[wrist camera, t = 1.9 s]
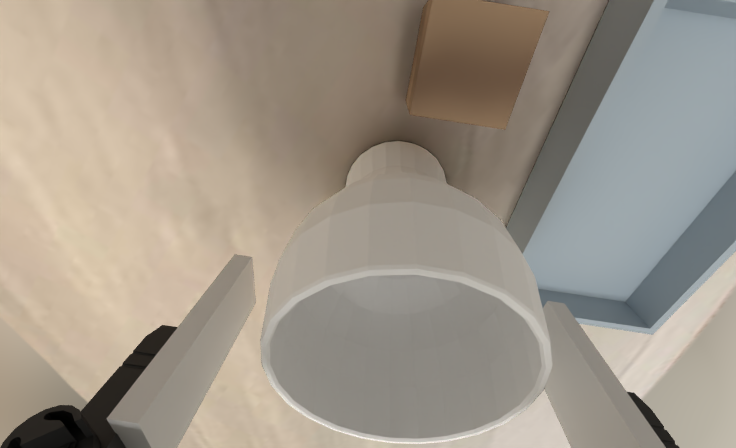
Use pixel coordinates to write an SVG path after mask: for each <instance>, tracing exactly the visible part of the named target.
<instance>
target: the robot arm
mask: <svg viewBox="0 0 736 448" xmlns="http://www.w3.org/2000/svg"><path fill="white" fill-rule="evenodd" d="M255 303H256V296H255V284H254V273H253V261H252V257H249V256H242V255H234V256H233V257H232V259H231V260H230V261H229V262H228V264H227V265H226V266H225V267H224V269H223V270H222V271H221V273H220V274H219V275H218V276H217V278H216V279H215V280H214V282H213V283H212V284H211V285H210V287H209V288H208V289H207V291H206V292H205V293H204V294H203V296H202V297H201V298H200V300H199V301H198V302H197V303H196V305H195V306H194V307H193V308H192V310H191V311H190V312H189V314H188V315H187V316H186V317H185V319H184V320H183V321H182V323H181V324H180V325H179V326H178V327H172V326H165V325H162V326H160V327H159V328H158V329H156V330H155V331H153V332H152V333H150V334H149V335H147V336H146V337H145V338H144V339H143V340H142V342H141V343H140V344H139V345H138V346H137V347H136V349H135V350H134V351H133V354H130V355H129V357H128V358H127V359H126V360H125V361H124V362H123V365H122V366H120V367H119V368H118V369H117V370H116V372H115V373H114V374H113V375H112V376H111V377H110V378H109V380H108V381H107V382H106V383H105V384H104V385H103V387H102V388H101V389H100V390H99V391H98V392H97V393H96V395H95V396H94V397H93V398H92V399H91V400H90V401H89V403H88V404H87V405H86V406H85V407H84V409H83V410H82V411H81V412H80V410H79V409H77V408H75V407H73V406H69V405H59V406H56V407H52V408H49V409H45V410H43V411H42V412H40V413H38V414H36V415H34V416H32V417H30V418H29V419H27V420H26V421H25V422H23V423H22V424H21V425H19V426H18V427H17V428H16V429H14V431H13V432H12V433H11V434H10V435H9V436H8V437H7V439H6V440H5V441H4V442H3V444H2V446H1V448H177V447H178V445H179V443H180V441H181V439H182V438H183V436H184V434H185V432H186V430H187V428H188V427H189V425H190V423H191V421H192V419H193V417H194V415H195V414H196V412H197V410H198V408H199V406H200V404H201V403H202V401H203V399H204V397H205V395H206V393H207V392H208V390H209V388H210V386H211V384H212V382H213V381H214V379H215V377H216V375H217V373H218V371H219V369H220V368H221V366H222V364H223V362H224V360H225V358H226V357H227V355H228V353H229V351H230V349H231V347H232V346H233V344H234V342H235V340H236V338H237V336H238V334H239V333H240V331H241V329H242V327H243V325H244V323H245V322H246V320H247V318H248V316H249V314H250V312H251V311H252V309H253V307H254V305H255ZM543 312H544V316H545V320H546V324H547V328H548V332H549V336H550V343H551V353H552V364H553V365H552V369H551V372H550V374H549V377H548V380H547V382H546V385H545V388H544V389H545V392H546V394H547V396H548V398H549V400H550V402H551V405H552V407H553V409H554V411H555V413H556V415H557V418H558V420H559V422H560V424H561V426H562V428H563V431H564V433H565V435H566V437H567V439H568V441H569V444H570V446H571V448H679V447H678V446H677V445H675V441H674V440H673V438H672V437H671V436H670V434H669V433H668V432H667V430H664V426H663V425H662V424H661V422H660V421H659V419H658V418H657V417H656V415H655V414H654V413H653V411H652V410H651V409H650V408H649V407H648V406H647V405H646V404H645V403H644V402H643V401H642V400H641V399H640V398H639V397H638V396H637V395H636V394H635V393H631V392H626V390H625V389H624V387H623V386H622V385H621V383H620V382H619V380H618V379H617V377H616V376H615V375H614V373H613V372H612V370H611V369H610V367H609V366H608V365H607V363H606V362H605V360H604V359H603V358H602V356H601V355H600V353H599V352H598V350H597V349H596V348H595V346H594V345H593V343H592V342H591V340H590V339H589V338H588V336H587V335H586V333H585V332H584V330H583V329H582V328H581V326H580V325H579V323H578V322H577V320H576V319H575V318H574V316H573V315H572V313H571V312H570V311H569V309H568V308H567V306H566V305H565V303H559V302H552V301H547V302H546V304H545V305H544V307H543Z"/></svg>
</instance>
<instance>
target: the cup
mask: <svg viewBox="0 0 736 448" xmlns="http://www.w3.org/2000/svg"><path fill="white" fill-rule="evenodd" d="M260 341H261V363H262V366H263V369H264V371H265V373H266V375H267V377H268V379H269V382H270V384H271V386H272V387H273V388H274V389H275V390H276V392H277V393H278V394H279V395H280V396H281V397H282V398H283V399H284V400H285V401H286V403H287V404H289V405H290V406H291V407H293V408H294V409H296V410H297V411H299V412H300V413H301V414H303V415H304V416H306V417H307V418H309V419H311V420H313V421H315V422H317V423H319V424H321V425H324V426H326V427H328V428H330V429H332V430H335V431H338V432H342V433H345V434H348V435H352V436H355V437H358V438H363V439H369V440H375V441H381V442H388V443H408V444H424V443H435V442H446V441H452V440H457V439H461V438H466V437H470V436H474V435H478V434H481V433H483V432H486V431H488V430H491V429H493V428H496V427H498V426H501V425H503V424H505V423H507V422H508V421H510V420H511V419H513V418H514V417H516V416H517V415H519V414H520V413H522V412H523V411H525V410H526V409H527V408H528V407H529V406H530V405H531V404H532V403H533V402H534V401H535V399H536V398H537V397H538V396H539V395H540V394H541V393H542V391H543V390H544V388H545V385H546V382H547V380H548V377H549V374H550V372H551V369H552V365H553V364H552V353H551V343H550V336H549V332H548V328H547V324H546V320H545V316H544V312H543V308H542V304H541V300H540V295H539V291H538V287H537V283H536V279H535V276H534V274H533V272H532V271H531V269H530V267H529V265H528V263H527V262H526V260H525V258H524V256H523V254H522V253H521V251H520V249H519V248H518V246H517V244H516V243H515V241H514V240H513V238H512V237H511V235H510V234H509V232H508V231H507V229H506V228H505V226H504V224H503V223H502V221H501V220H500V219H499V218H498V217H497V216H495V215H494V214H493V213H492V212H491V211H490V210H489V209H488V208H487V207H485V206H484V205H483V204H482V203H481V202H480V201H479V200H478V199H476V198H474V197H472V196H470V195H468V194H466V193H464V192H462V191H461V190H459V189H457V188H455V187H453V186H450V185H448V184H447V182H446V178H445V174H444V170H443V168H442V167H441V165H440V164H439V162H438V160H437V159H436V158H435V157H434V156H433V155H432V154H431V153H430V152H429V151H427V150H426V149H424V148H422V147H420V146H418V145H416V144H413V143H408V142H403V141H394V142H384V143H382V144H379V145H376V146H373V147H371V148H370V149H368V150H367V151H365V152H364V153H362V154H361V155H360V156H359V157H358V159H357V160H356V161H355V162H354V163H353V165H352V167H351V169H350V171H349V173H348V175H347V181H346V187H345V188H344V189H342V190H340V191H339V192H337V193H336V194H334V195H333V196H331V197H330V198H328V199H327V200H325V201H324V202H322V203H321V204H319V205H318V206H316V207H314V208H313V209H312V210H311V212H310V213H309V214H308V215H307V216H306V218H305V219H304V220H303V221H302V222H301V224H300V225H299V226H298V227H297V228H296V230H295V231H294V233H293V235H292V237H291V239H290V241H289V242H288V244H287V246H286V248H285V250H284V252H283V253H282V255H281V257H280V259H279V262H278V264H277V267H276V270H275V273H274V275H273V278H272V281H271V283H270V289H269V294H268V300H267V306H266V311H265V317H264V322H263V328H262V334H261V339H260Z"/></svg>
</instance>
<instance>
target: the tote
mask: <svg viewBox="0 0 736 448" xmlns="http://www.w3.org/2000/svg"><path fill="white" fill-rule="evenodd" d="M506 229H507V231H508V232H509V234H510V235H511V237H512V238H513V240H514V241H515V243H516V244H517V246H518V248H519V249H520V251H521V253H522V254H523V256H524V258H525V260H526V262H527V263H528V265H529V267H530V269H531V271H532V272H533V274H534V276H535V279H536V283H537V287H538V291H539V295H540V300H541V304H542V308H543V307H544V305H545V304H546V302H547V301H552V302H559V303H565V305H566V306H567V308H568V309H569V311H570V312H571V313H572V315H573V316H574V318H575V319H576V320H577V322H578V323H579V324H585V325H591V326H598V327H605V328H612V329H618V330H625V331H632V332H638V333H645V334H652V335H653V334H654V333H655V332H656V331H657V330H658V329H659V328H660V327H661V326H662V325H663V324H664V323H665V322H666V321H667V320H668V319H669V318H670V317H671V316H672V315H673V314H674V313H675V312H676V311H677V310H678V309H679V308H680V307H681V306H682V305H683V304H684V303H685V302H686V301H687V300H688V299H689V298H690V297H691V296H692V294H693V293H694V292H695V291H696V290H697V289H698V288H699V287H700V286H701V285H702V284H703V283H704V282H705V281H706V280H707V279H708V278H709V277H710V276H711V275H712V274H713V273H714V272H715V271H716V270H717V269H718V268H719V267H720V266H721V265H722V264H723V263H724V262H725V261H726V260H727V259H728V258H729V257H730V256H731V255H732V254H733V253H734V252H735V251H736V0H609V2H608V4H607V7H606V9H605V11H604V13H603V15H602V18H601V20H600V22H599V24H598V26H597V29H596V31H595V33H594V35H593V37H592V40H591V42H590V44H589V46H588V48H587V51H586V53H585V55H584V57H583V59H582V62H581V64H580V66H579V68H578V70H577V73H576V75H575V77H574V79H573V81H572V84H571V86H570V88H569V90H568V92H567V95H566V97H565V99H564V101H563V103H562V106H561V108H560V110H559V112H558V114H557V117H556V119H555V121H554V123H553V125H552V128H551V130H550V132H549V134H548V137H547V139H546V141H545V143H544V145H543V148H542V150H541V152H540V154H539V156H538V159H537V161H536V163H535V165H534V167H533V170H532V172H531V174H530V176H529V178H528V181H527V183H526V185H525V187H524V189H523V192H522V194H521V196H520V198H519V200H518V203H517V205H516V207H515V209H514V211H513V214H512V216H511V218H510V220H509V222H508V225H507V227H506Z"/></svg>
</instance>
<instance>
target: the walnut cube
mask: <svg viewBox="0 0 736 448" xmlns="http://www.w3.org/2000/svg"><path fill="white" fill-rule="evenodd" d="M548 14H549V11H544V10H538V9H532V8H525V7H519V6H513V5H507V4H501V3H494V2H488V1H482V0H428V2H427V3H426V4H425V6H424V7H423V11H422V17H421V22H420V27H419V33H418V38H417V43H416V48H415V54H414V59H413V64H412V70H411V75H410V80H409V85H408V91H407V96H406V103H407V107H408V110H409V114H410V115H414V116H421V117H427V118H433V119H440V120H446V121H453V122H459V123H465V124H472V125H478V126H485V127H491V128H497V129H504V130H505V129H506V126H507V123H508V121H509V118H510V115H511V113H512V110H513V107H514V105H515V102H516V99H517V97H518V94H519V91H520V89H521V86H522V83H523V81H524V78H525V75H526V73H527V70H528V67H529V65H530V62H531V59H532V57H533V54H534V51H535V49H536V46H537V43H538V41H539V38H540V35H541V33H542V30H543V27H544V25H545V22H546V19H547V17H548Z"/></svg>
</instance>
